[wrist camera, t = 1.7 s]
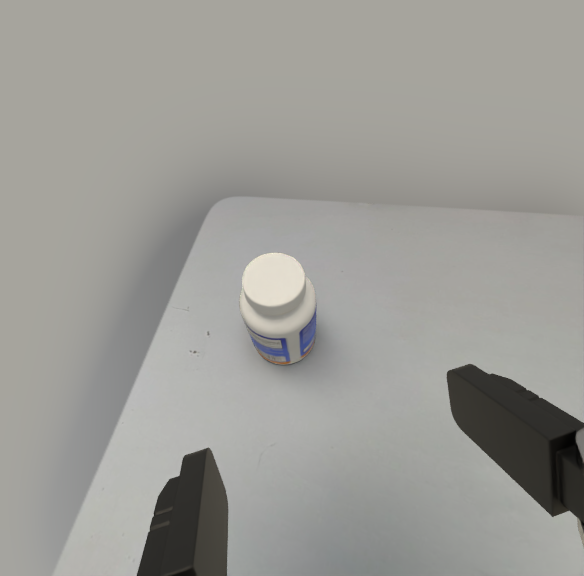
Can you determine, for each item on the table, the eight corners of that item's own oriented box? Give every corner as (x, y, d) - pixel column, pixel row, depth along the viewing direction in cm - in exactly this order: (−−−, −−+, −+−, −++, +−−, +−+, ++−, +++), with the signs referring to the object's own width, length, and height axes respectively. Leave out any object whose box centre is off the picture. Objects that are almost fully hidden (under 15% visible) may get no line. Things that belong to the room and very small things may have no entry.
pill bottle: (299, 300, 31) (295, 231, 22) (326, 350, 28) (333, 294, 20) (244, 323, 30) (219, 259, 21) (267, 377, 27) (247, 330, 19)
